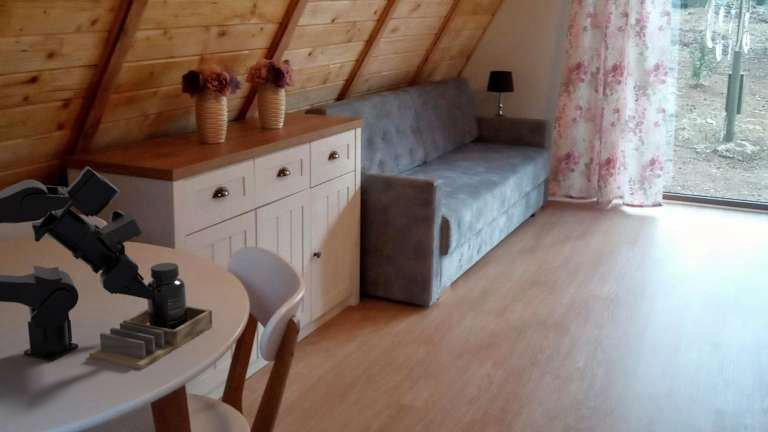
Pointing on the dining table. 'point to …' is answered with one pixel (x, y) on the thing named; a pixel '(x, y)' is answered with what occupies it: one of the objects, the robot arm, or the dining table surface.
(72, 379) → the dining table surface
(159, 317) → the supplement bottle
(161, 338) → the wooden desk organizer
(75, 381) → the dining table surface
